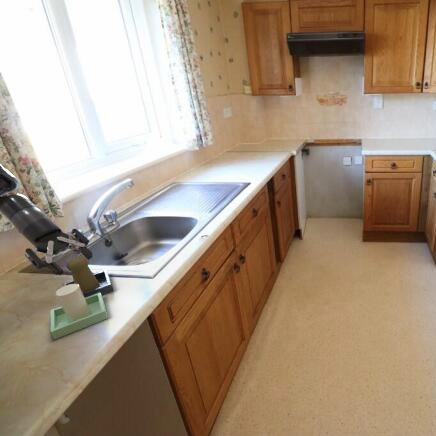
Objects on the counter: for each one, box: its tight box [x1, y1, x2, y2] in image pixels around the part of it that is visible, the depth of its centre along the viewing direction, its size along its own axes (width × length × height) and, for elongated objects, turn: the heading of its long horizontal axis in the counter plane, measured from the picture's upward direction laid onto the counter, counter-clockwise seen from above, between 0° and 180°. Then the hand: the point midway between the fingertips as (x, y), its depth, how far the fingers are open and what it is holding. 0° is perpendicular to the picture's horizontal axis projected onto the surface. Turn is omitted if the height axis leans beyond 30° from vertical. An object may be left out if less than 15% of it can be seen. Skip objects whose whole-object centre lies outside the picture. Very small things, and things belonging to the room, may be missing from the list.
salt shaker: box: [55, 284, 91, 322], centre depth 85 cm, size 5×5×9 cm
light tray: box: [49, 293, 109, 340], centre depth 87 cm, size 12×11×2 cm
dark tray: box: [62, 269, 115, 298], centre depth 98 cm, size 12×11×2 cm
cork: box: [65, 255, 100, 293], centre depth 96 cm, size 6×6×11 cm
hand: (76, 265), depth 95 cm, fingers open, 8 cm apart
